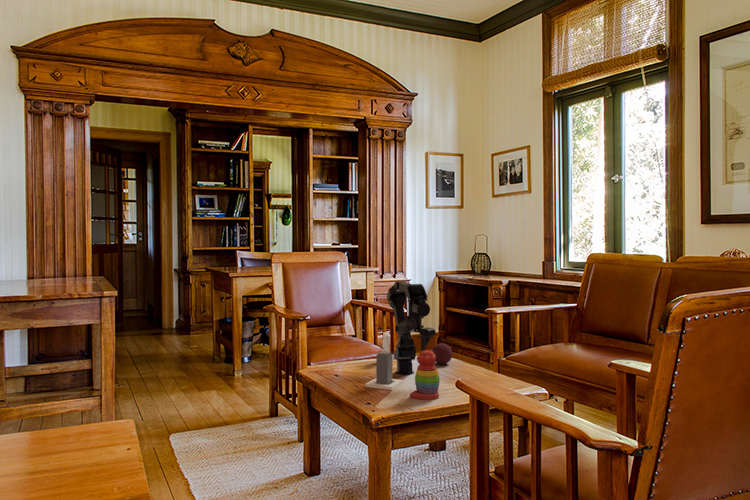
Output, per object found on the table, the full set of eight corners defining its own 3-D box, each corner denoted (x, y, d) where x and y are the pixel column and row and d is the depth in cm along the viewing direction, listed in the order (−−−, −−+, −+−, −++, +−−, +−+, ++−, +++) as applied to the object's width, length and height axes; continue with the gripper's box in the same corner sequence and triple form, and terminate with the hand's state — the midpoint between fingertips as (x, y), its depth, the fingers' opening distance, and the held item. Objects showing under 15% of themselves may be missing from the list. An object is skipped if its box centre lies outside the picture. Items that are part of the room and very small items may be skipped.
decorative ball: (453, 366, 258) (453, 345, 258) (432, 366, 258) (432, 345, 258) (450, 361, 268) (450, 341, 268) (430, 361, 268) (430, 341, 268)
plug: (376, 385, 224) (376, 352, 224) (381, 382, 229) (381, 350, 229) (387, 386, 222) (387, 354, 222) (392, 383, 227) (392, 351, 227)
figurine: (391, 360, 271) (391, 330, 271) (395, 365, 261) (395, 333, 261) (377, 361, 270) (377, 330, 270) (380, 365, 260) (380, 334, 260)
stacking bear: (423, 391, 216) (423, 346, 216) (445, 395, 210) (445, 349, 209) (407, 397, 208) (407, 350, 208) (429, 402, 201) (429, 354, 201)
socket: (365, 386, 223) (365, 383, 223) (377, 379, 234) (377, 377, 234) (392, 390, 218) (392, 387, 218) (403, 382, 229) (403, 380, 228)
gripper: (386, 313, 233) (386, 349, 234) (418, 317, 220) (418, 356, 220) (404, 310, 241) (404, 346, 241) (436, 314, 227) (436, 352, 228)
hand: (414, 350), depth 232 cm, fingers open, 9 cm apart
